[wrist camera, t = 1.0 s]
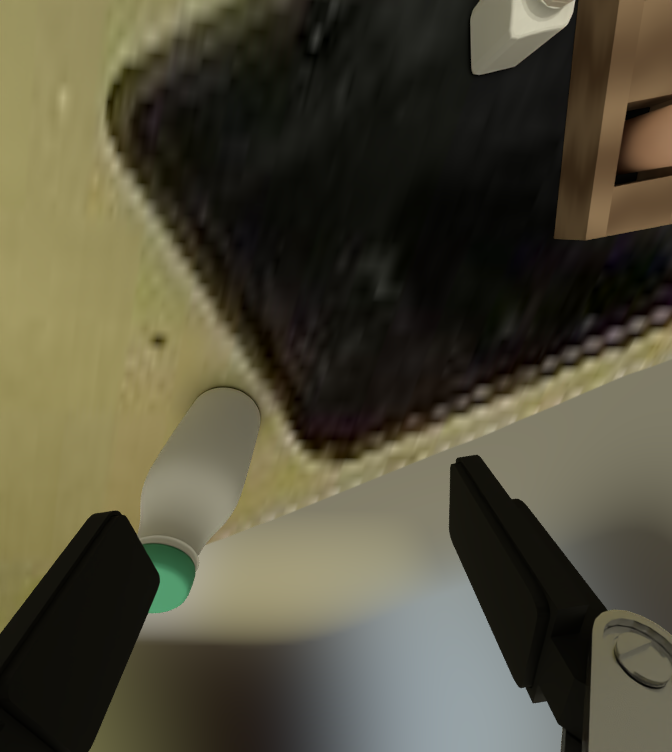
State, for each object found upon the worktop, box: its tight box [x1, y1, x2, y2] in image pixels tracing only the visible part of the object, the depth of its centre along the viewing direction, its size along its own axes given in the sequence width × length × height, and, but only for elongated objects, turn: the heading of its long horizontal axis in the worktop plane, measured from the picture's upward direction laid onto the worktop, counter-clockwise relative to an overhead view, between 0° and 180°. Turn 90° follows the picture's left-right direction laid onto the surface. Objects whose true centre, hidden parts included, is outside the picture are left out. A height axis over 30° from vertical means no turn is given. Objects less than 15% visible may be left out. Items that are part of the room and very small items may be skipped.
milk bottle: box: [137, 387, 260, 613], centre depth 28 cm, size 8×8×20 cm
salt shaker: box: [470, 0, 575, 75], centre depth 21 cm, size 4×4×10 cm
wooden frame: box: [554, 0, 672, 240], centre depth 25 cm, size 24×9×4 cm, turn 10°
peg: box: [616, 105, 672, 176], centre depth 25 cm, size 4×4×9 cm
